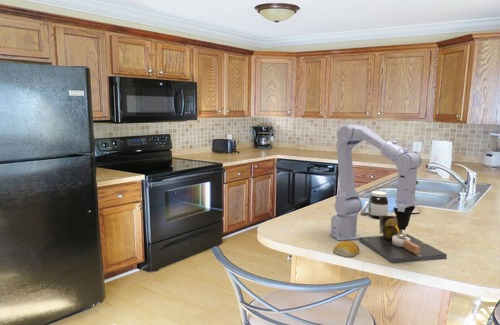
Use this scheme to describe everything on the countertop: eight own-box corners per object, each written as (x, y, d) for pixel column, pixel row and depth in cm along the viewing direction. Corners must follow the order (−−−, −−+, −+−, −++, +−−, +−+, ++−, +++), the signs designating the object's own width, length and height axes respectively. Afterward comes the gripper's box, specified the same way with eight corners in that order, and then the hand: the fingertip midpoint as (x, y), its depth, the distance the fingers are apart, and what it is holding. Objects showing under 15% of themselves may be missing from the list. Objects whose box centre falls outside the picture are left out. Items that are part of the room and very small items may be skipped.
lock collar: (388, 241, 137) (389, 235, 137) (402, 240, 139) (403, 234, 138) (409, 254, 126) (410, 247, 125) (424, 253, 127) (425, 246, 127)
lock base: (392, 263, 123) (393, 246, 122) (359, 241, 143) (360, 226, 142) (446, 258, 128) (448, 242, 127) (407, 237, 148) (408, 224, 147)
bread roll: (362, 251, 133) (362, 241, 132) (352, 259, 126) (353, 248, 125) (340, 246, 138) (340, 235, 137) (329, 253, 131) (330, 242, 130)
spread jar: (389, 219, 172) (391, 195, 170) (364, 219, 172) (366, 194, 171) (380, 212, 184) (382, 189, 182) (357, 212, 184) (359, 189, 182)
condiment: (402, 234, 148) (399, 242, 137) (379, 232, 152) (375, 240, 141) (402, 216, 148) (399, 223, 137) (379, 215, 151) (375, 221, 141)
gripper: (415, 194, 116) (412, 235, 118) (422, 186, 129) (418, 224, 131) (392, 191, 120) (389, 231, 122) (400, 183, 132) (397, 221, 134)
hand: (402, 227), depth 127 cm, fingers open, 4 cm apart
